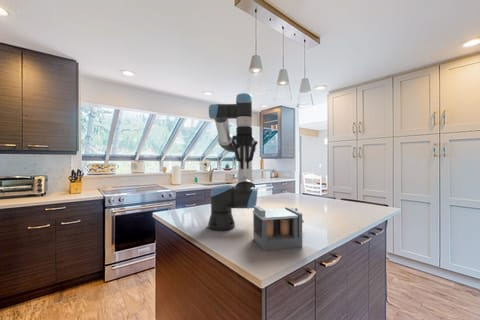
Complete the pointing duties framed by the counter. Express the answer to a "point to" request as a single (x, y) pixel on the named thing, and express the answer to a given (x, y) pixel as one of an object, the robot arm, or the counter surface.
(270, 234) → the pin
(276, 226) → the housing
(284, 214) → the pale blue flat panel
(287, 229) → the pin
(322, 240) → the counter surface
